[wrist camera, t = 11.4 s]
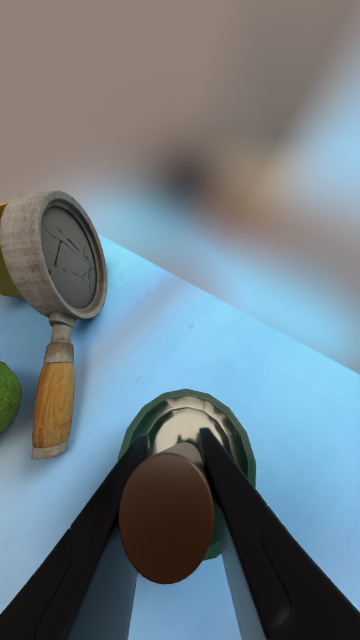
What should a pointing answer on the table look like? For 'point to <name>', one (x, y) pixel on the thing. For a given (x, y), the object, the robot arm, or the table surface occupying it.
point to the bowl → (192, 432)
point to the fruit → (8, 396)
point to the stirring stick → (167, 515)
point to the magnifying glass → (54, 295)
